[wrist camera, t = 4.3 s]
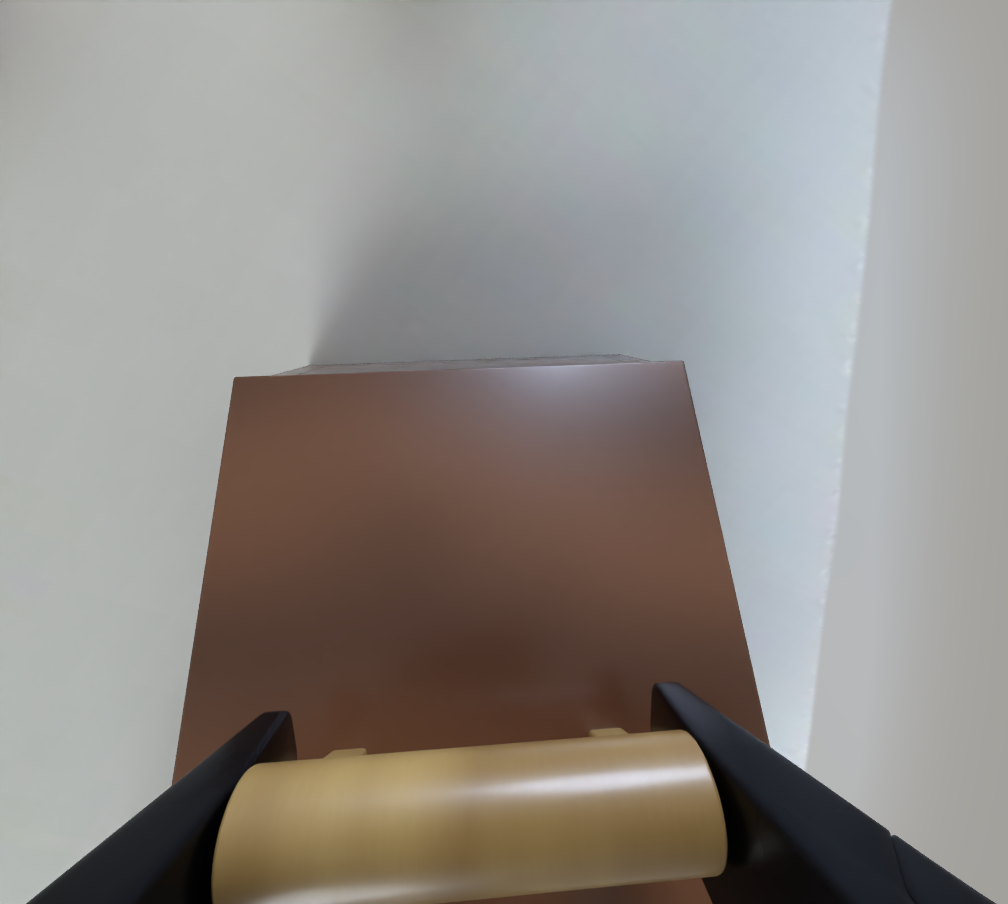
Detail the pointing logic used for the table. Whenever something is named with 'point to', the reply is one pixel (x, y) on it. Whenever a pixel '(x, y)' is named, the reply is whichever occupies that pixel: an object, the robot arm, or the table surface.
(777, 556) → the table surface
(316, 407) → the lid
